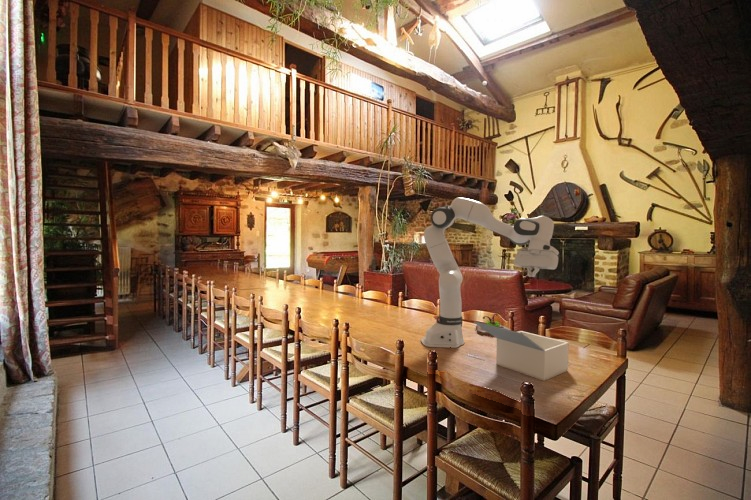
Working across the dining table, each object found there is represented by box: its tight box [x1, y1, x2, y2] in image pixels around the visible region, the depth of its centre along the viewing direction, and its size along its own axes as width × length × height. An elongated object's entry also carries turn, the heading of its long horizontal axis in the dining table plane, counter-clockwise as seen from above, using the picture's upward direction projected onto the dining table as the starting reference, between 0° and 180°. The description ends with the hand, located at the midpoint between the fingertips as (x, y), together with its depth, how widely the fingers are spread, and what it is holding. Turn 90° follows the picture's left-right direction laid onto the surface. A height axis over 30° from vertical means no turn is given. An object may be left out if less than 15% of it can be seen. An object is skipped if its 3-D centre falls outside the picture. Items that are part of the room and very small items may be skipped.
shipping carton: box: [496, 330, 570, 382], centre depth 154 cm, size 18×22×12 cm
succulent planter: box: [475, 313, 512, 338], centre depth 209 cm, size 20×20×11 cm
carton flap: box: [473, 320, 545, 351], centre depth 143 cm, size 18×22×1 cm
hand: (531, 276), depth 166 cm, fingers closed
